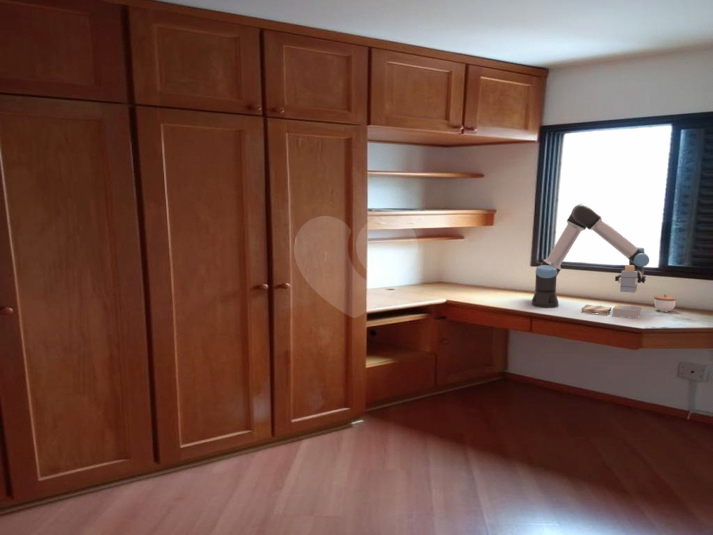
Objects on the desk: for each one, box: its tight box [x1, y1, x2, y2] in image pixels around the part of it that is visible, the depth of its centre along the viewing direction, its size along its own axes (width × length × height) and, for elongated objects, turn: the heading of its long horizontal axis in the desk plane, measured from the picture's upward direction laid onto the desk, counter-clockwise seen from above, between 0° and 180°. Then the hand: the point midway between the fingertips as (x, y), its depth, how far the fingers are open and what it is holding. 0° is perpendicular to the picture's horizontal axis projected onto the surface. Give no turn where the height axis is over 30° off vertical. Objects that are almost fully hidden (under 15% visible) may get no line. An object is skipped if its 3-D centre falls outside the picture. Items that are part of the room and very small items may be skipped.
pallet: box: [581, 304, 612, 316], centre depth 286 cm, size 13×13×2 cm
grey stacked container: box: [619, 269, 638, 294], centre depth 276 cm, size 7×7×11 cm
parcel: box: [624, 264, 635, 272], centre depth 276 cm, size 4×4×3 cm
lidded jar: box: [653, 293, 677, 312], centre depth 289 cm, size 11×11×9 cm
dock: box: [611, 303, 642, 319], centre depth 279 cm, size 12×14×4 cm
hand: (627, 281), depth 272 cm, fingers closed on grey stacked container, 7 cm apart
